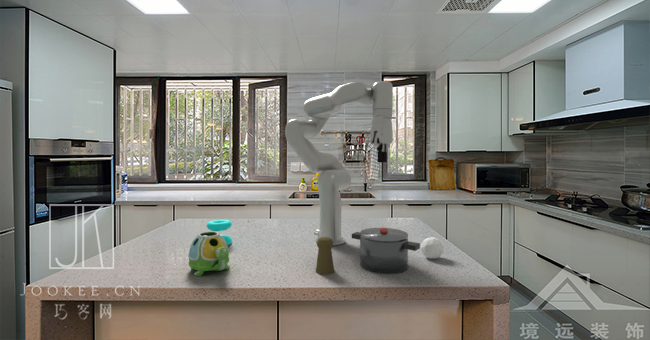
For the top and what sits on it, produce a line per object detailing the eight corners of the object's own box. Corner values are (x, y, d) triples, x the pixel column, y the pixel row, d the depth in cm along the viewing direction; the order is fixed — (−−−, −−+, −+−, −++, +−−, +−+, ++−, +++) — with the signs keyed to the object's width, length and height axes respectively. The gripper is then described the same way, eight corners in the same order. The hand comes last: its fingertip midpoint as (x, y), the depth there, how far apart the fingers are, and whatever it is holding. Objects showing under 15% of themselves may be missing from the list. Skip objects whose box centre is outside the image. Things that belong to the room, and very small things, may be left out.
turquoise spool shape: (201, 222, 127) (221, 218, 136) (201, 245, 128) (221, 240, 136) (217, 224, 122) (236, 220, 130) (217, 249, 122) (236, 243, 131)
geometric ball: (427, 263, 114) (422, 243, 118) (448, 259, 110) (442, 238, 115) (420, 258, 108) (415, 237, 113) (442, 253, 105) (437, 231, 109)
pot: (341, 263, 106) (341, 235, 105) (366, 252, 118) (366, 227, 118) (406, 281, 90) (406, 248, 90) (426, 266, 103) (427, 237, 102)
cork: (332, 275, 95) (332, 240, 95) (313, 273, 96) (313, 239, 96) (335, 268, 101) (335, 235, 101) (317, 267, 102) (317, 234, 102)
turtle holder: (204, 285, 88) (203, 244, 87) (182, 268, 101) (182, 233, 101) (243, 273, 96) (243, 236, 96) (218, 260, 110) (218, 227, 109)
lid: (351, 236, 103) (351, 229, 103) (375, 228, 115) (375, 221, 115) (394, 245, 92) (394, 236, 92) (415, 235, 105) (415, 227, 105)
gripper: (383, 117, 125) (382, 162, 126) (363, 113, 114) (363, 162, 115) (400, 115, 121) (399, 162, 121) (381, 111, 109) (381, 162, 110)
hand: (382, 162), depth 118 cm, fingers closed
